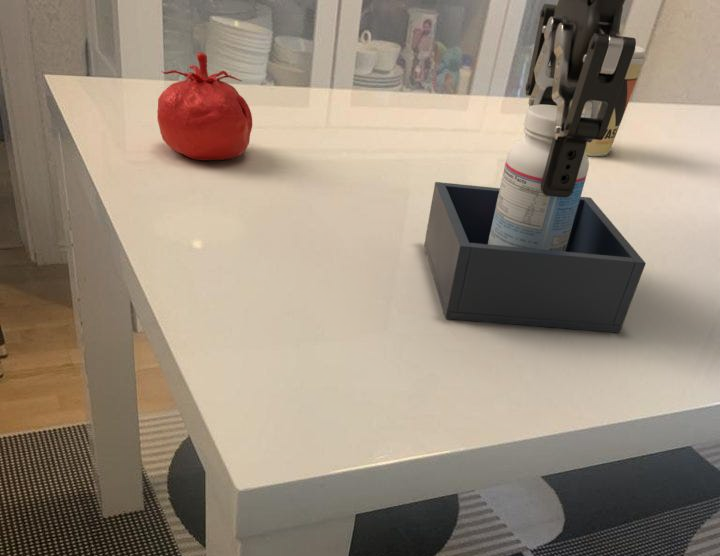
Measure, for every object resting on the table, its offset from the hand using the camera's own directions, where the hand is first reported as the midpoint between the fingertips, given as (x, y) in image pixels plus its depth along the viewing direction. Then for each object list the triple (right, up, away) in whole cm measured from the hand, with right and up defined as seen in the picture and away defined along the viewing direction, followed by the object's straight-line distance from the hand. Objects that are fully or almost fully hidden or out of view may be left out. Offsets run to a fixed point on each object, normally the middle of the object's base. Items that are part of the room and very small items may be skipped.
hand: (543, 178), depth 55 cm
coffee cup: (+15, +22, +43) cm, 50 cm away
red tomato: (-30, +12, +23) cm, 40 cm away
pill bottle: (-1, -5, +4) cm, 7 cm away
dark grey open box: (-1, -7, +5) cm, 9 cm away
